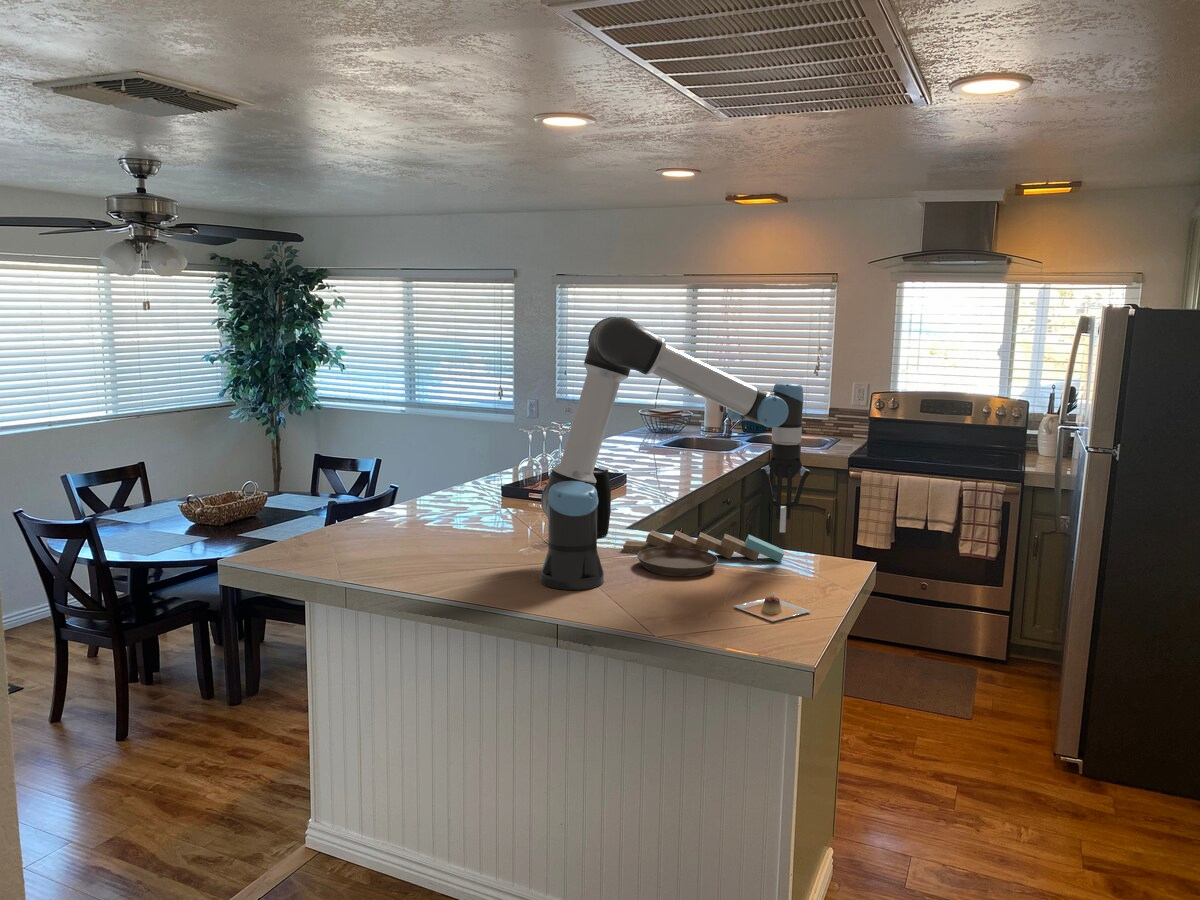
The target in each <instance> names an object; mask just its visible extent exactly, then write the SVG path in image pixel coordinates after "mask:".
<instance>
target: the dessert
mask: <svg viewBox="0 0 1200 900" xmlns="http://www.w3.org/2000/svg"><path fill="white" fill-rule="evenodd" d="M761 604H762V607H761V612H763V613H764V614H768V615H778V614H782V613H783V609H782V606H783V607H786V608H787V609H790V610H794V611H797V612H799V613H796V614H795V613H794V614H792V615H791V614H790V615H788V616H784V617H781V618H776V619H771V618H769V617H765V616H762V615H760V614H758V613H755V612H751V611H749V610H746V608H749V607H753V606H758V605H761ZM732 607H734V608H735V609H736V610H740V611H742V612H745V613H748V614H751V615H752V616H756V617H758V618H761V619H764V620H766V621H770V622H773V623H774V622H777V621H781V620H782V621H783V620H785V619H789V618H794V617H798V616H801V615H802V616H803V615H805V614H809V613H810V612H812V610H809V609H806V608H803V607H800V606H798V605H795V604H793V603H790V602H786V601H784V600H780V598H778V597H777V594H776V592H773V591H772V592H771V593H770V595H769V596H766V597H765V598H760V599H757V600H756V599H755V600H753V601H748V602H744V603H739V604H736V605H735V604H734V605H733V606H732Z"/></svg>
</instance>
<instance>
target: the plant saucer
mask: <svg viewBox="0 0 1200 900" xmlns="http://www.w3.org/2000/svg"><path fill="white" fill-rule="evenodd" d="M636 554H637V555H636V557H637V559H638V560H639V562H640V563H641V565H642V566H643V567H644V568H645V569H647V570H648V571H650V572H652V573H654V574H658V575H663V576H668V577H669V576H670V577H693V576H694V577H696V576H700V575H704V574H707V573H708V572H709V571H711V570H713V568H714V567H716V565H717V563H718V562H719V558H718V557H717V555H715V554H713V553H712V552H709V551H708V552H706V551H703V550H698V549H693V548H686V547H655V548H648V549H645V550H642V551H640V552H638V553H636Z"/></svg>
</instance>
